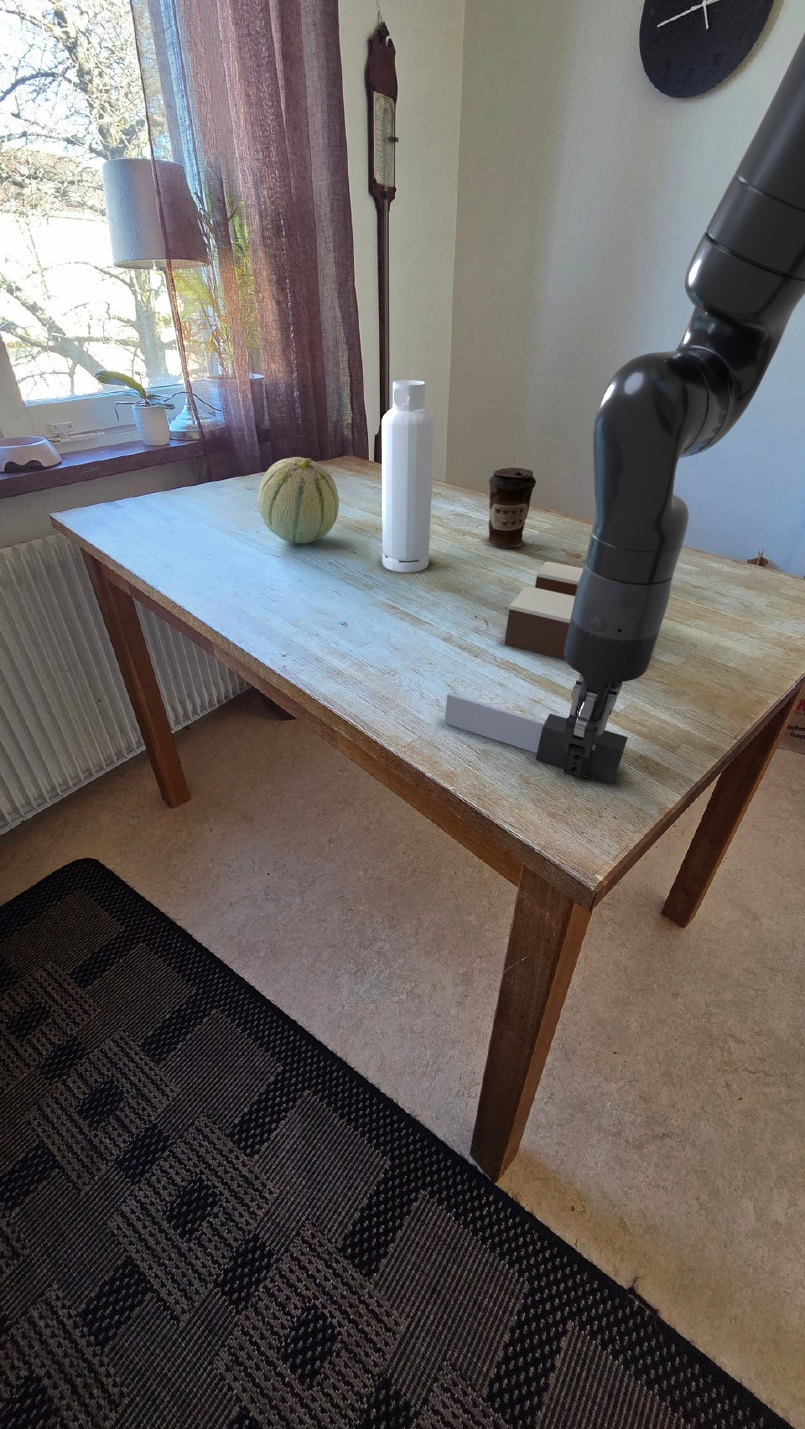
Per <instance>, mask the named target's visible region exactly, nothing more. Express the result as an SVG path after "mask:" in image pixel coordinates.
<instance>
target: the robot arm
mask: <svg viewBox="0 0 805 1429" xmlns="http://www.w3.org/2000/svg"><path fill="white" fill-rule="evenodd" d="M705 229H706V231H705V232H704V233H703V234H702V236H701V239H700V240H699V242H698V244H697V246H696V248H695V250H694V253H693V255H692V257H691V260H690V262H689V265H688V267H687V270H686V273H685V279H684V289H685V292H686V295H687V297H688V299H689V300H690V302H691V303H692V304H693V305H694V309H693V311H692V314H691V317H690V319H689V321H688V325H687V326H686V329H685V332H684V333H683V336H682V339H681V340H680V342H679V344H678V346H677V347H676V349H675V350H672V351H658V352H657V351H656V352H649V353H644V354H642V355H639V356H636V357H634V358H632V359H629V361H627V362H626V363H624V364H623V365H622V366H621V367H620V368H619V369H618V370H617V371H615V374H613V376H612V377H611V379H610V380H609V382H608V384H607V385H606V387H605V389H604V391H603V393H602V396H601V398H600V401H599V403H598V406H597V409H596V413H595V416H594V421H593V430H592V431H593V432H592V460H593V461H592V463H593V464H592V465H593V491H594V492H593V494H594V503H595V504H594V505H595V517H594V521H593V524H592V529H591V534H590V537H589V538H590V539H589V544H588V548H587V552H586V557H585V562H584V566H583V572H582V574H581V577H580V580H579V583H578V586H577V590H576V595H575V600H574V604H573V609H572V614H571V619H570V624H569V629H568V634H567V638H566V643H565V648H564V657H565V659H566V660H565V661H566V663H567V665H568V666H570V667H571V668H572V669H573V670H574V671H576V672H577V673H578V674H579V678H578V679H575V682H574V684H573V687H572V691H571V696H570V697H571V700H572V703H571V706H570V711H569V714H568V717H566V718H567V719H566V722H565V723H566V730H565V741H564V745H563V747H564V751H566V752H567V756H566V761H565V765H564V769H562V771H563V772H564V774H566V775H567V776H571V777H574V778H577V779H584V778H585V777H586V776H585V775H586V772H587V768H588V765H589V761H590V757H591V756H592V753H593V750H595V747H596V745H595V742H596V739H597V735H601V734H602V733H603V732H604V730H606V727H607V723H608V720H609V717H610V716H611V714H612V713H613V710H614V707H615V705H616V702H617V699H618V696H619V695H620V694H621V693H620V692H621V690H622V687H623V684H624V683H625V682H630V681H635V680H636V679H638V678H640V677H642V676H643V675H645V673H646V672H647V671H648V669H649V665H650V663H651V659H652V656H653V653H654V650H655V646H656V644H657V640H658V637H659V633H660V630H661V627H662V624H663V620H664V618H665V614H666V612H667V611H666V610H667V608H668V605H669V600H670V596H671V587H672V581H673V577H674V574H675V570H676V568H677V564H678V561H679V558H680V554H681V551H682V547H683V543H684V541H685V537H686V533H687V529H688V524H689V519H690V517H689V516H690V513H689V508H688V505H687V504H686V502H685V500H683V499H682V498H681V497H679V495H676V494H674V489H675V479H676V471H677V467H678V462H679V460H680V459H683V458H687V457H691V456H695V455H699V454H701V453H703V452H705V451H707V450H709V449H711V448H712V447H713V446H715V445H716V444H717V443H719V442H720V441H721V440H723V438H724V437H725V436H726V435H727V434H728V433H729V432H730V431H731V430H732V428H734V426H735V425H736V424H737V423H738V421H739V420H740V418H741V417H742V416H743V414H744V413H745V411H746V410H747V408H749V405H750V403H751V402H752V400H753V398H754V397H755V394H756V392H757V391H758V389H759V387H760V385H761V383H762V381H763V379H764V378H765V375H766V372H767V370H768V368H769V366H770V364H771V362H772V360H773V358H774V356H775V354H776V351H777V350H778V348H779V345H780V344H781V341H782V338H783V336H784V333H785V331H786V328H787V325H788V323H789V321H790V318H791V316H792V314H793V312H794V311H795V309H796V307H797V306H798V304H799V303H800V301H801V300H802V298H804V296H805V32H804V33H803V36H802V38H801V40H800V41H799V44H798V46H797V48H796V50H795V52H794V54H793V56H792V59H791V60H790V63H789V65H788V67H787V69H786V71H785V73H784V75H783V77H782V80H781V82H780V83H779V86H778V88H777V89H776V92H775V94H774V96H773V97H772V101H771V102H770V103H769V105H768V108H767V110H766V112H765V114H764V116H763V118H762V120H761V122H760V124H759V125H758V128H757V130H756V132H755V133H754V136H753V137H752V140H751V141H750V144H749V145H748V147H747V148H746V151H745V152H744V155H743V157H742V158H741V160H740V162H739V164H738V166H737V168H736V170H735V172H734V174H733V176H732V177H731V180H730V181H729V184H728V186H727V187H726V190H725V191H724V193H723V196H722V198H721V199H720V201H719V203H718V204H717V207H716V209H715V211H714V213H713V214H712V217H711V218H710V220H709V222H708V224H707V226H706V228H705Z"/></svg>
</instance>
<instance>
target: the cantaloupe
mask: <svg viewBox="0 0 805 1429" xmlns="http://www.w3.org/2000/svg"><path fill="white" fill-rule="evenodd" d="M339 503H340V497H339V493H338V488H337V484H336V482H335V480H334V478H333V477H332V475H331V474H330V472H329V471H328V470H327V469H326V468H324V467H323V466H322V465H320V464H319V463H318V462H316V461H314V460H313V459H312V458H311V457H308V458H304V457H301V456H292V457H288V458H283V459H279V460H278V461H276V462H275V463H272V465H271V466H270V467H269V468H268V469H267V471H266V472H265V474H264V475H263V478H262V479H261V482H260V484H259V487H258V493H257V505H258V510H259V514H260V517H261V518H262V520H263V523H264V524H265V526H266V527H267V528H268V530H269V531H270V532H271V533H273V534H274V535H275V536H277V537H278V538H279V539H281V540H283V541H286V542H288V543H293V544H308V543H313V542H317V541H318V540H320V539H322V538H324V537H325V536H326V535H327V534H328V533H329V532H330V531H331V530H332V529H333V527H334V525H335V523H336V521H337V518H338V515H339V507H340V504H339Z"/></svg>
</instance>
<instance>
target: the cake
mask: <svg viewBox="0 0 805 1429" xmlns="http://www.w3.org/2000/svg"><path fill="white" fill-rule="evenodd" d="M574 600H575V596H571V595H566V594H562V593H557V592H553V591H548V590H543V589H539V588H535V586H534V587H533V586H529V585H525V586H524V588H522V590H521V591H520V593H519V594H517V596H516V597H515V598H514V599H513V600H512V601H511V603H510V604H509V607H508V616H507V621H506V630H505V637H504V645H506V646H510V647H513V648H516V649H521V650H524V651H529V652H532V653H535V654H538V655H542V656H543V655H545V656H548V657H552V658H556V659H559V660H563V661H566V659H565V657H564V648H565V643H566V638H567V634H568V629H569V624H570V619H571V614H572V609H573V604H574Z"/></svg>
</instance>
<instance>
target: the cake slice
mask: <svg viewBox="0 0 805 1429" xmlns="http://www.w3.org/2000/svg"><path fill="white" fill-rule="evenodd" d="M583 569H584V567H582V568H581V567H579V566H573V565H567V564H562V563H557V562H553V561H546V562H545V563H544V564H543V566H541V568H540V569H539V570H538V571H537V573H536V578H535V585H534V588H539V589H543V590H548V591H553V592H557V593H562V594H566V595H571V596H575V595H576V590H577V586H578V583H579V580H580V577H581V574H582V572H583Z"/></svg>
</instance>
